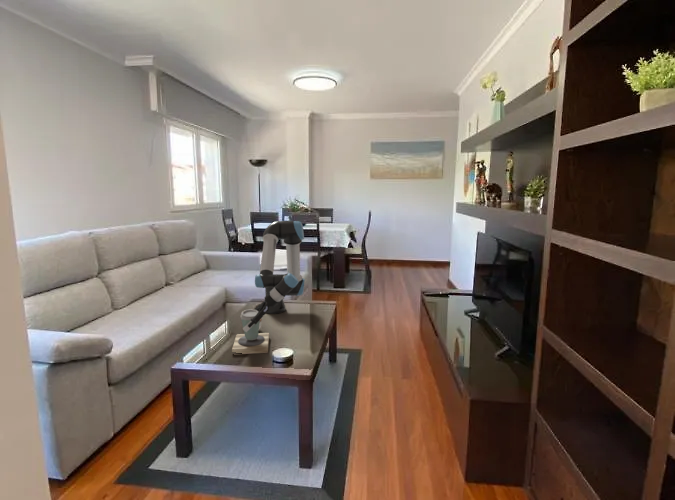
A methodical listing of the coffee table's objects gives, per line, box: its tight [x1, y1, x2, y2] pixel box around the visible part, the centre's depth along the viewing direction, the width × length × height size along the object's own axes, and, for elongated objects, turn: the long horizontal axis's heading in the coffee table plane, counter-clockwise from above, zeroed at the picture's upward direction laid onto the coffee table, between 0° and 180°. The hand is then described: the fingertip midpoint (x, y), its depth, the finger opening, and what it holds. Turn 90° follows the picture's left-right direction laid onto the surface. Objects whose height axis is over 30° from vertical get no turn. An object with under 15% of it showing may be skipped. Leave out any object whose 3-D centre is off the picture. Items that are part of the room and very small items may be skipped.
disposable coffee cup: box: [239, 308, 260, 340], centre depth 193 cm, size 11×11×15 cm
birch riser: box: [231, 332, 270, 355], centre depth 195 cm, size 18×18×3 cm
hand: (245, 326), depth 193 cm, fingers closed on disposable coffee cup, 11 cm apart
